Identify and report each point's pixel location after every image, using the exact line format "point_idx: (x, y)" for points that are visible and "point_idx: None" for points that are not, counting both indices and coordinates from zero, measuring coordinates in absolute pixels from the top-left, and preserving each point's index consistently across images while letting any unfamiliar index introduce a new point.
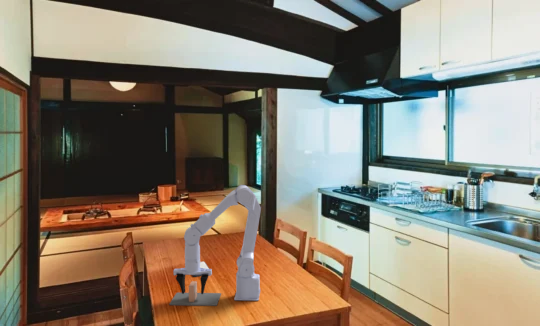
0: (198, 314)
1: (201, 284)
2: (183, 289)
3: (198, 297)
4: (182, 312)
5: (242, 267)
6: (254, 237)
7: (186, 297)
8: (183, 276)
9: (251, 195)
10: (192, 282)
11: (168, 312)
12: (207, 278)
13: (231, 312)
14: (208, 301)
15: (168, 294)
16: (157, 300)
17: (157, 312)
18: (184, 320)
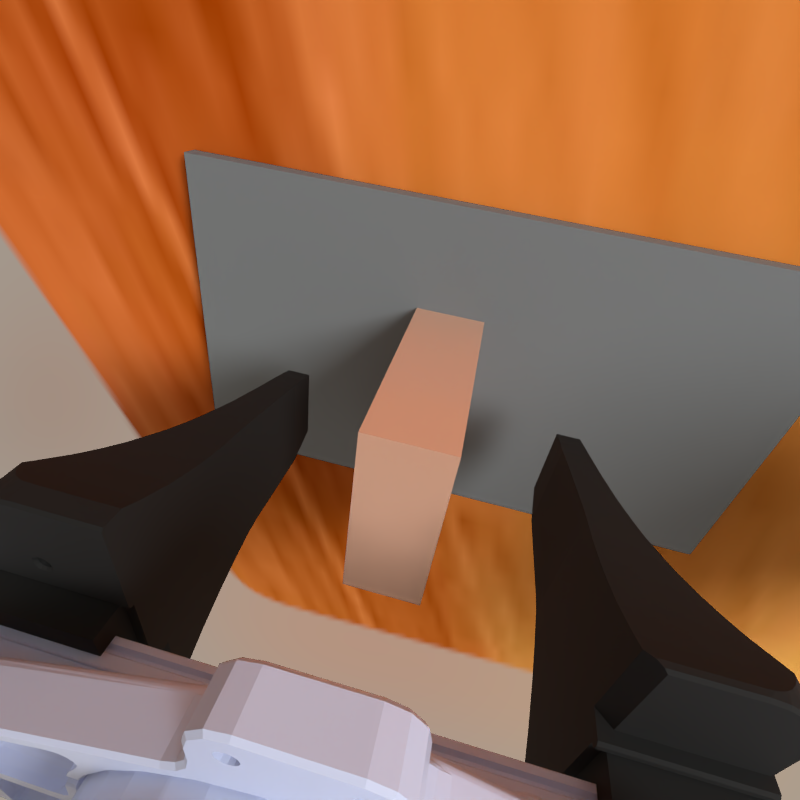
0: (495, 603)
1: (541, 646)
2: (282, 470)
3: (502, 366)
4: None
5: None
6: None
7: (352, 337)
8: (162, 613)
9: None
10: (379, 483)
11: (264, 524)
12: (708, 615)
13: (787, 655)
14: (614, 479)
15: (96, 157)
16: (68, 307)
17: None
18: (400, 629)
